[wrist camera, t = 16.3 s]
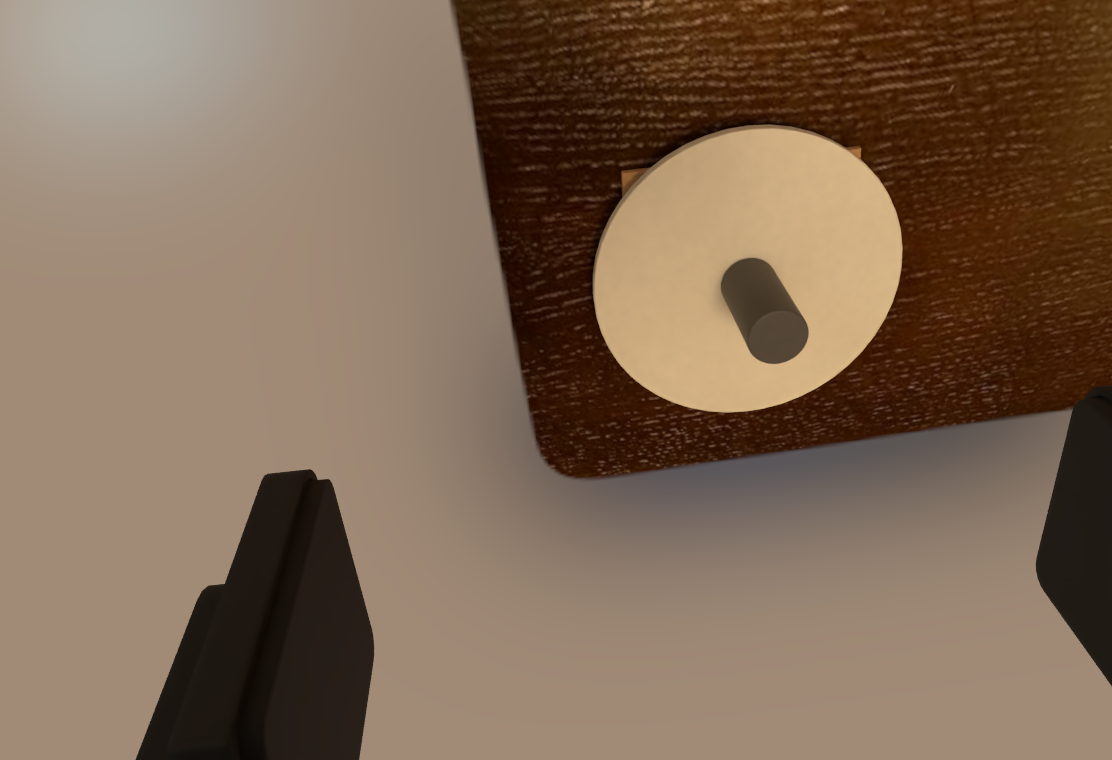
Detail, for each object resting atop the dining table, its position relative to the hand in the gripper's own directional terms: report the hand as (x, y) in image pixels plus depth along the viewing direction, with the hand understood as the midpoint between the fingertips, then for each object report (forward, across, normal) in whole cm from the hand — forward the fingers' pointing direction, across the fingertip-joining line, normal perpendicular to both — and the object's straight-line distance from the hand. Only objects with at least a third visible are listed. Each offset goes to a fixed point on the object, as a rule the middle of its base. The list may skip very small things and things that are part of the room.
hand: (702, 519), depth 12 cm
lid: (+27, -7, +10) cm, 30 cm away
